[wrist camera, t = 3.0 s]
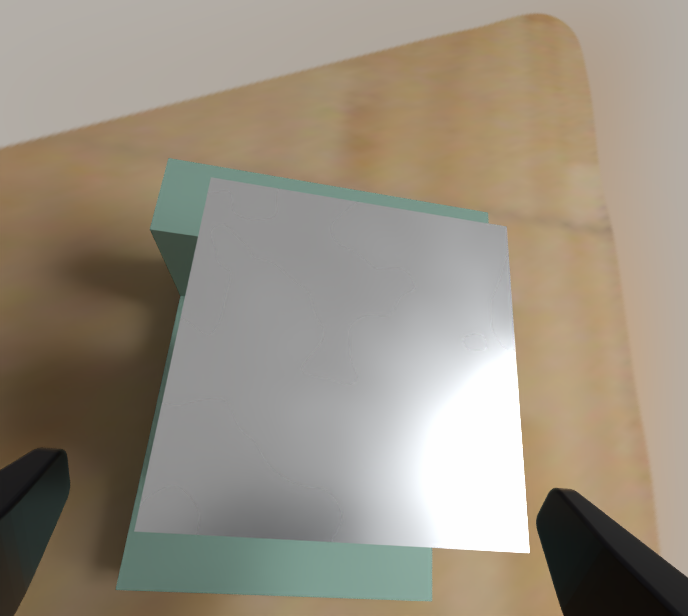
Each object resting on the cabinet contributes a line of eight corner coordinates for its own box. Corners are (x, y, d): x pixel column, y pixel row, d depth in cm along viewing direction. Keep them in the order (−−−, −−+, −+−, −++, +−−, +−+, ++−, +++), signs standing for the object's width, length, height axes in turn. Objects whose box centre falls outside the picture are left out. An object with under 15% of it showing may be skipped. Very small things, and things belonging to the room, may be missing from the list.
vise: (412, 586, 16) (511, 662, 10) (133, 574, 15) (37, 655, 9) (416, 292, 21) (488, 212, 14) (199, 262, 19) (168, 158, 13)
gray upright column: (366, 501, 15) (529, 553, 6) (213, 491, 15) (133, 531, 5) (373, 357, 17) (506, 226, 8) (238, 341, 16) (211, 177, 7)
